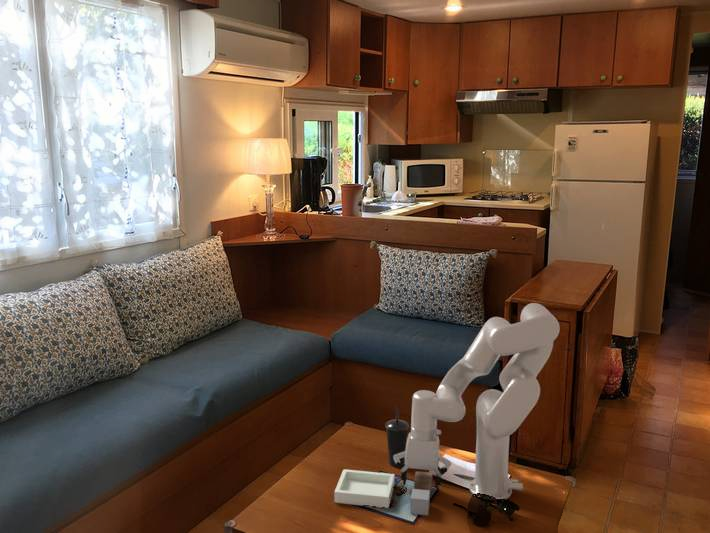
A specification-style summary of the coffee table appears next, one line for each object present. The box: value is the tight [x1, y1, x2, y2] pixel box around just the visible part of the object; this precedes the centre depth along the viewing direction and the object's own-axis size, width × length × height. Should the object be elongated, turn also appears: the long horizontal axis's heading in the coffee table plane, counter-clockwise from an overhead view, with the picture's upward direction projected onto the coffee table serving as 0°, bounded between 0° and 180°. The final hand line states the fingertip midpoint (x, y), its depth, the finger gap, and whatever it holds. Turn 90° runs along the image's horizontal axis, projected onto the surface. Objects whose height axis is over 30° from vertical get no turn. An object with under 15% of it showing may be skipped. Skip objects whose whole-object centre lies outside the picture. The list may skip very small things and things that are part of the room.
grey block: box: [409, 488, 431, 516], centre depth 190 cm, size 5×5×5 cm
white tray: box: [333, 468, 395, 509], centre depth 199 cm, size 16×13×4 cm
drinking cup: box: [385, 405, 410, 468], centre depth 215 cm, size 8×8×20 cm
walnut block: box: [413, 471, 433, 497], centre depth 200 cm, size 5×5×5 cm
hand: (420, 484), depth 200 cm, fingers open, 9 cm apart
